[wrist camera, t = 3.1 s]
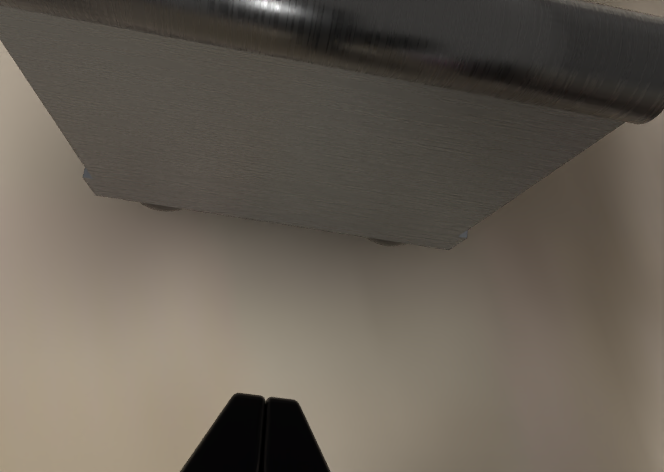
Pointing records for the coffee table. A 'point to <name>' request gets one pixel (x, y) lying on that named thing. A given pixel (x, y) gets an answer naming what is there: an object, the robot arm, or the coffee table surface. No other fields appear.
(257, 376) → the coffee table surface
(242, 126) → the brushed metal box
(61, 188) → the coffee table surface
